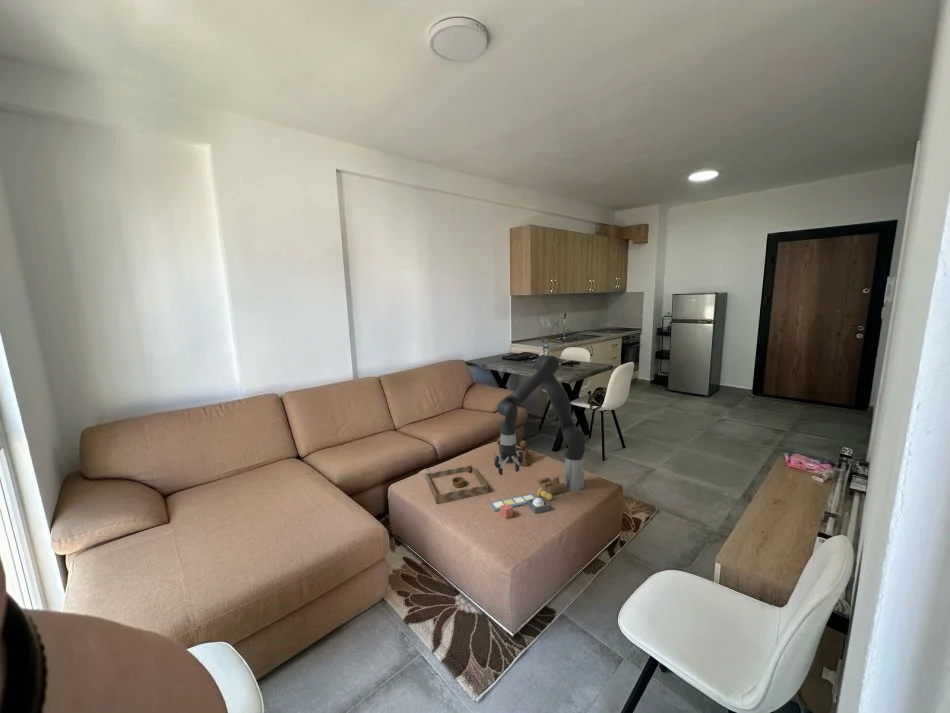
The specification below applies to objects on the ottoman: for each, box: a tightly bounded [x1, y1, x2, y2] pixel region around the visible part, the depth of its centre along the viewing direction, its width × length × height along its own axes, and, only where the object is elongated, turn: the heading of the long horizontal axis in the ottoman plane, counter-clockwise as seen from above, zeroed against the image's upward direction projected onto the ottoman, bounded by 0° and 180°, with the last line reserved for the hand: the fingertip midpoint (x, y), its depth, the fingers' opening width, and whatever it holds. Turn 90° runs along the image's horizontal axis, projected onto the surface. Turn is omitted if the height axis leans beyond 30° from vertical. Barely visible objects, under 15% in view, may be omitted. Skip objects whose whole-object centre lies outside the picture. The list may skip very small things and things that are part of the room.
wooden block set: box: [537, 476, 568, 496], centre depth 201 cm, size 18×9×10 cm
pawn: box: [537, 487, 553, 501], centre depth 193 cm, size 4×4×7 cm
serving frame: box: [424, 465, 489, 505], centre depth 207 cm, size 28×26×5 cm
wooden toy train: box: [496, 436, 533, 468], centre depth 233 cm, size 20×11×17 cm, turn 66°
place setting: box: [451, 465, 472, 491], centre depth 210 cm, size 18×20×6 cm
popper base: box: [527, 496, 551, 514], centre depth 185 cm, size 8×8×3 cm
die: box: [499, 504, 514, 520], centre depth 180 cm, size 4×4×4 cm
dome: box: [533, 497, 544, 507], centre depth 185 cm, size 6×6×5 cm
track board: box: [489, 492, 537, 512], centre depth 190 cm, size 24×8×1 cm, turn 109°
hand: (509, 473), depth 187 cm, fingers open, 8 cm apart
